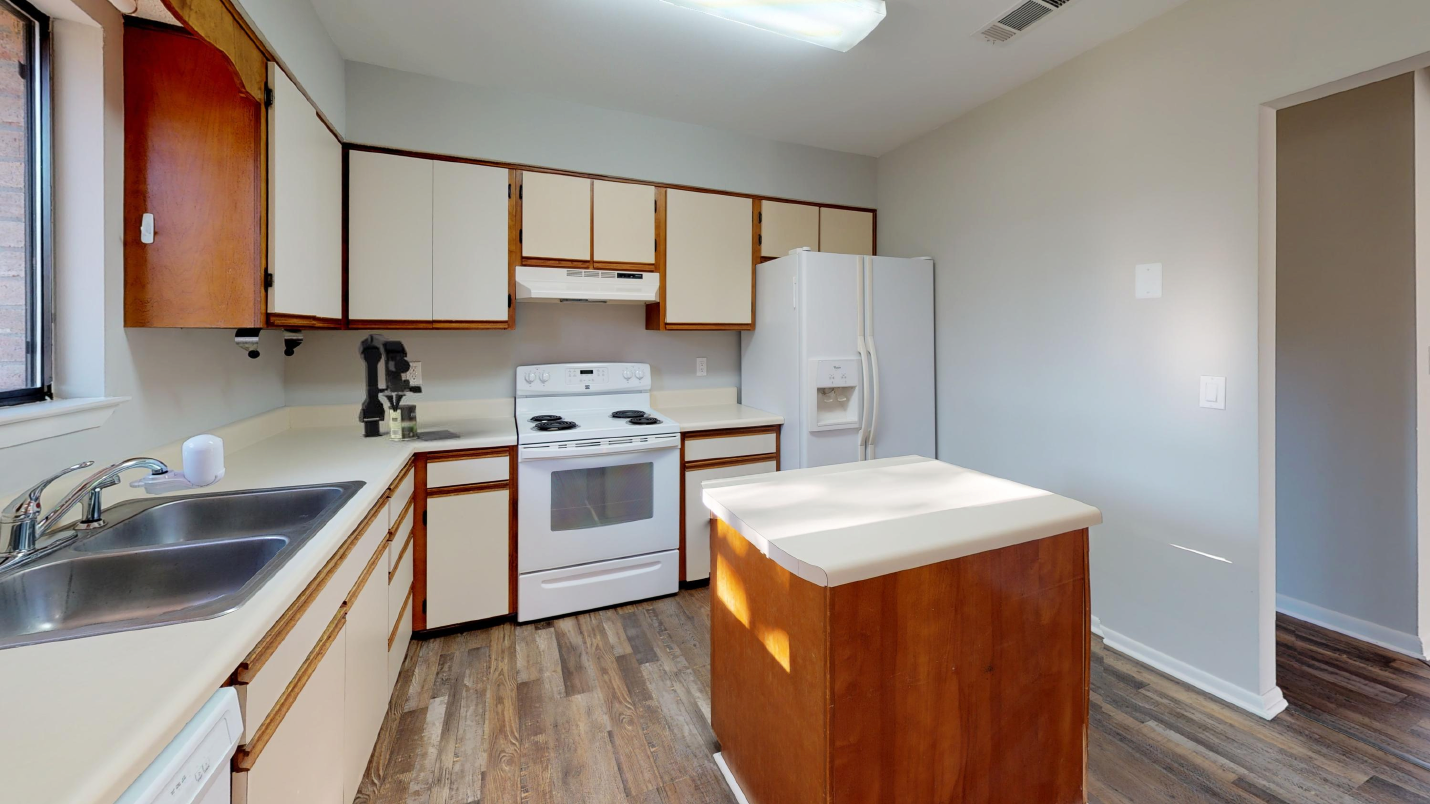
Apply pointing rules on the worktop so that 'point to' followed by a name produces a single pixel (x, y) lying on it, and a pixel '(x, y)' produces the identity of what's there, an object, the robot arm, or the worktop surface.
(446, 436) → the rubber mat
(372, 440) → the worktop surface
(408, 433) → the coffee can
